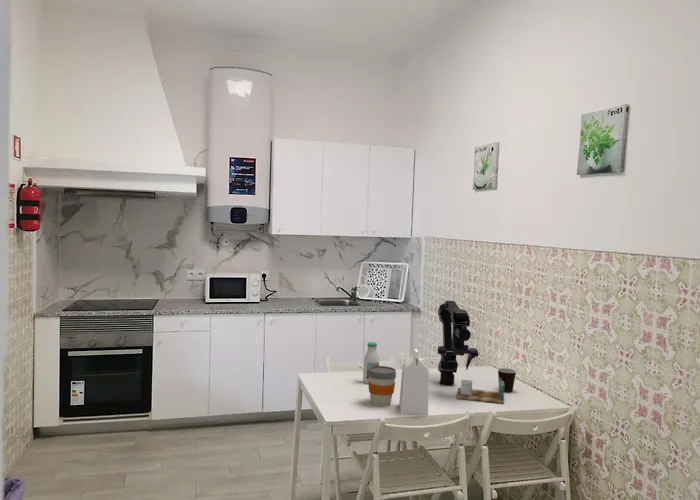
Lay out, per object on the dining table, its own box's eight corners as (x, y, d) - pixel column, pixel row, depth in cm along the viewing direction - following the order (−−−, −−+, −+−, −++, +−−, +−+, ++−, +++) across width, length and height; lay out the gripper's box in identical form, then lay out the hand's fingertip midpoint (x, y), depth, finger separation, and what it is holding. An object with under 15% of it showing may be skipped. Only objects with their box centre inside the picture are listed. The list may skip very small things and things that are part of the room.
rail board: (456, 399, 262) (457, 382, 261) (457, 391, 273) (458, 375, 273) (503, 404, 257) (504, 387, 257) (502, 396, 269) (503, 379, 268)
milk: (399, 404, 251) (402, 346, 250) (425, 405, 251) (428, 347, 249) (400, 413, 239) (403, 353, 238) (428, 414, 239) (431, 354, 237)
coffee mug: (515, 394, 274) (516, 373, 273) (497, 392, 275) (498, 372, 275) (513, 387, 285) (514, 367, 284) (496, 385, 287) (497, 366, 286)
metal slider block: (460, 394, 264) (461, 382, 264) (460, 391, 270) (461, 379, 270) (471, 395, 263) (472, 383, 263) (471, 392, 269) (472, 380, 268)
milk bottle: (360, 383, 280) (362, 343, 279) (366, 379, 288) (367, 340, 286) (375, 385, 278) (377, 345, 276) (380, 381, 285) (382, 342, 284)
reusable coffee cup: (375, 396, 261) (376, 364, 260) (399, 401, 254) (401, 369, 254) (361, 403, 250) (363, 370, 249) (386, 409, 244) (388, 375, 243)
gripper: (439, 338, 260) (437, 372, 261) (480, 341, 258) (478, 375, 259) (438, 334, 272) (436, 366, 272) (477, 336, 269) (476, 368, 270)
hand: (456, 369), depth 268 cm, fingers open, 9 cm apart
